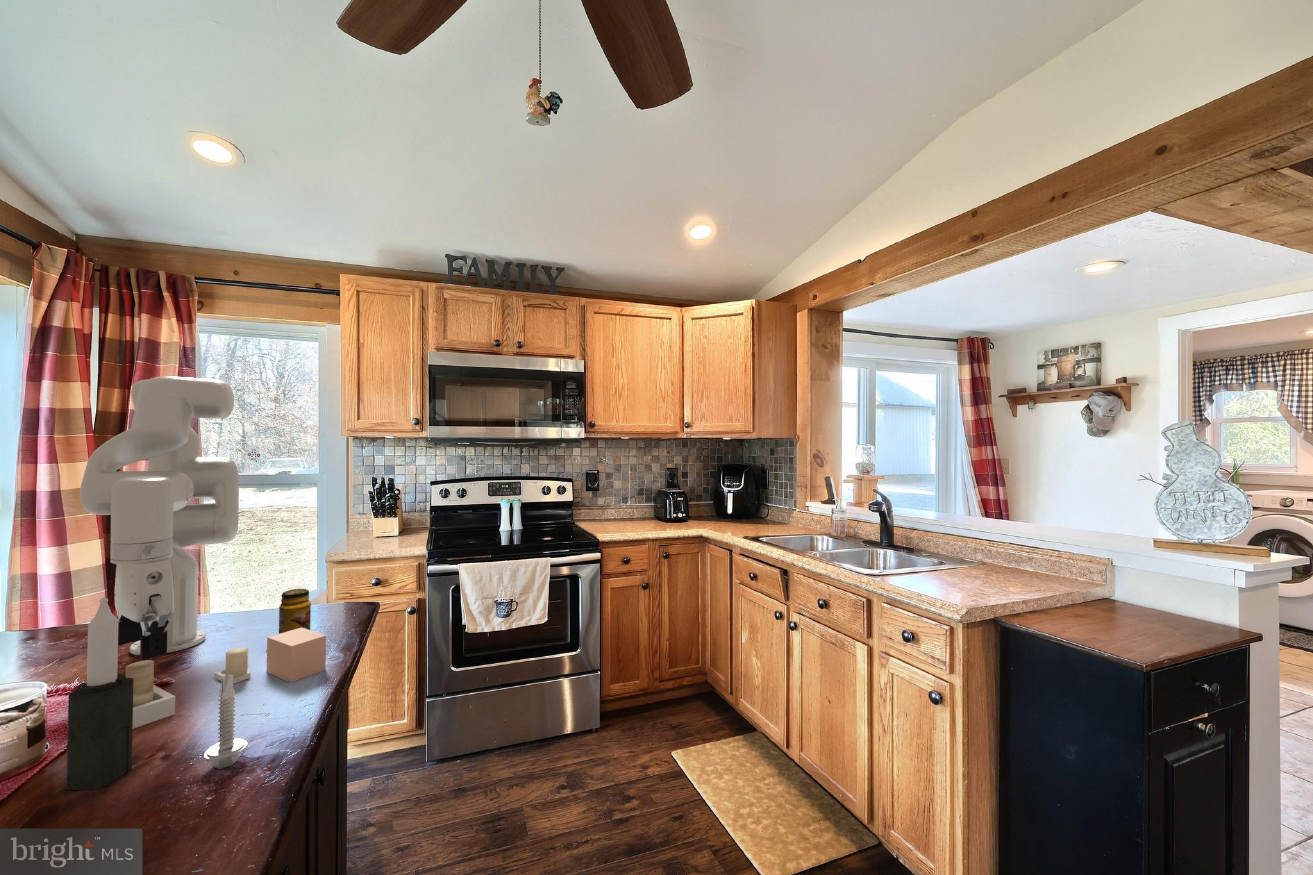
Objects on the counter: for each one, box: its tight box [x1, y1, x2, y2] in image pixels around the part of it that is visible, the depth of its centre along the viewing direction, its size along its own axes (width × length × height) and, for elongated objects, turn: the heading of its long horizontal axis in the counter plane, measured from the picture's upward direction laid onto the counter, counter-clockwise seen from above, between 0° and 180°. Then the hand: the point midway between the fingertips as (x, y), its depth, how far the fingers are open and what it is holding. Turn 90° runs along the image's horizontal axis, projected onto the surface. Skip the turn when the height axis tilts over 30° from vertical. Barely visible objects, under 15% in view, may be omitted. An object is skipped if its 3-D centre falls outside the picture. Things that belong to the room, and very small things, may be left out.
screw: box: [203, 674, 248, 770], centre depth 77 cm, size 13×5×5 cm
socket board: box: [133, 684, 176, 730], centre depth 90 cm, size 13×7×3 cm, turn 62°
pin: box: [124, 659, 155, 708], centre depth 88 cm, size 3×3×9 cm
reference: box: [213, 647, 252, 685], centre depth 103 cm, size 6×4×6 cm, turn 62°
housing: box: [266, 628, 327, 683], centre depth 107 cm, size 9×6×7 cm
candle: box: [66, 597, 134, 791], centre depth 73 cm, size 5×5×25 cm
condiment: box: [265, 588, 312, 653], centre depth 121 cm, size 7×8×12 cm
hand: (141, 649), depth 89 cm, fingers open, 9 cm apart
